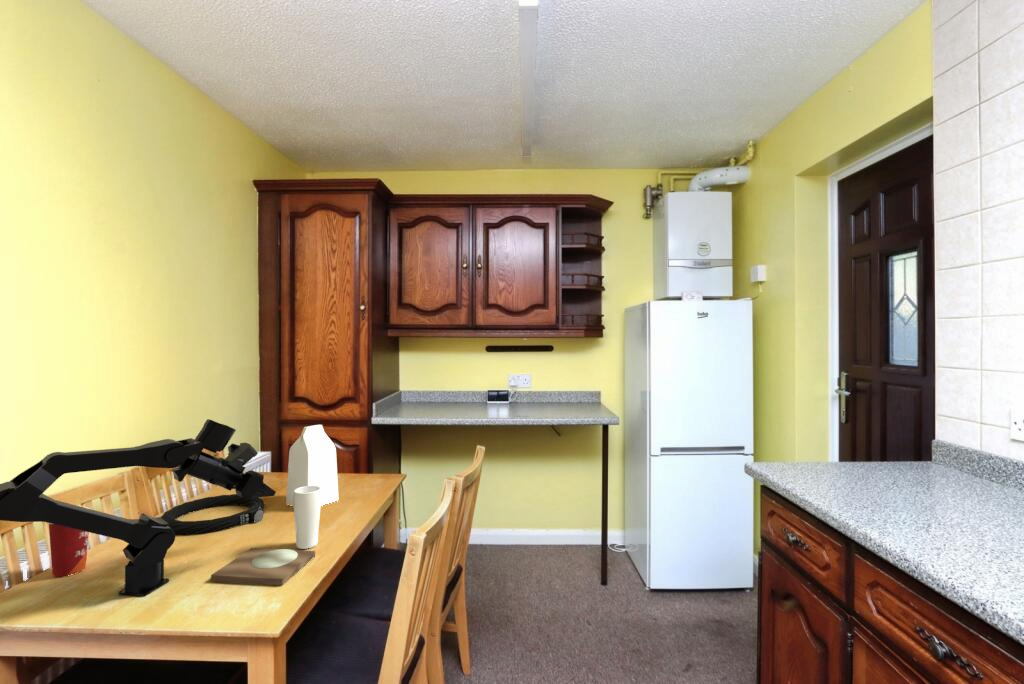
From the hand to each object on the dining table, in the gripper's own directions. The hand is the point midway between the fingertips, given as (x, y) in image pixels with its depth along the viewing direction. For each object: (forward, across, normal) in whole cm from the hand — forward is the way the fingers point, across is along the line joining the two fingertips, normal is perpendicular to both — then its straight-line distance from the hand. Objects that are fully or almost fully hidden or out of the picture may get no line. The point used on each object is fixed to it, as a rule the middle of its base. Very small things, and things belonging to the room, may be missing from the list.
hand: (266, 490), depth 122 cm
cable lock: (+9, +34, +13) cm, 37 cm away
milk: (+30, +24, -1) cm, 38 cm away
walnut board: (+4, -12, +16) cm, 20 cm away
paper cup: (-21, +23, +32) cm, 44 cm away
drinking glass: (+14, -7, +9) cm, 18 cm away
